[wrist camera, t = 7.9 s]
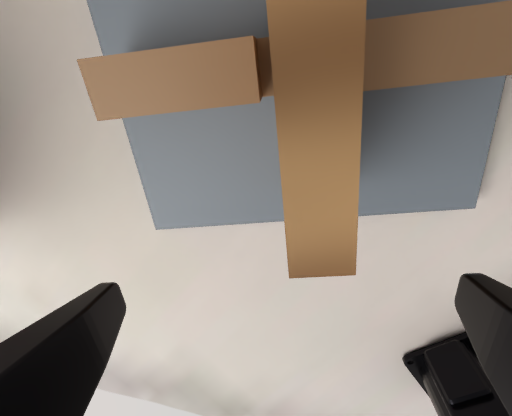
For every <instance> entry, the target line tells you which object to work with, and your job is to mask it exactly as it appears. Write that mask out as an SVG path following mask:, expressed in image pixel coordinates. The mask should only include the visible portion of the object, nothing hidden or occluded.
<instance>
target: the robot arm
mask: <svg viewBox="0 0 512 416" xmlns="http://www.w3.org/2000/svg"><path fill="white" fill-rule="evenodd" d="M455 307H456V310H457V312H458V314H459V317H460V319H461V321H462V323H463V326H464V328H465V330H466V332H467V333H464V334H461V335H458V336H456V337H453V338H450V339H448V340H445V341H442V342H439V343H437V344H434V345H431V346H429V347H426V348H423V349H420V350H418V351H415V352H412V353H410V354H407V355H405V356H404V357H403V358H402V359H403V362H404V364H405V366H406V367H407V368H408V370H409V371H410V372H411V374H412V375H413V376H414V377H415V379H416V380H417V381H418V383H419V384H420V385H421V387H422V388H423V389H424V391H425V392H426V393H427V394H428V396H429V397H430V399H431V401H432V403H433V406H434V408H435V410H436V412H437V414H438V416H512V288H510V287H508V286H506V285H504V284H502V283H500V282H498V281H496V280H494V279H492V278H490V277H488V276H486V275H484V274H481V273H469V274H463V275H462V276H461V277H460V280H459V284H458V288H457V292H456V296H455ZM125 313H126V304H125V301H124V298H123V295H122V293H121V290H120V287H119V285H118V284H117V283H114V282H109V283H100V284H98V285H97V286H95V287H93V288H92V289H90V290H88V291H87V292H85V293H83V294H82V295H80V296H78V297H77V298H75V299H73V300H72V301H70V302H68V303H67V304H65V305H63V306H62V307H60V308H58V309H57V310H55V311H53V312H52V313H50V314H48V315H46V316H45V317H43V318H41V319H40V320H38V321H36V322H35V323H33V324H31V325H30V326H28V327H26V328H25V329H23V330H21V331H20V332H18V333H16V334H15V335H13V336H11V337H10V338H8V339H6V340H5V341H3V342H1V343H0V416H83V415H84V413H85V411H86V409H87V407H88V405H89V402H90V401H91V398H92V396H93V394H94V392H95V390H96V388H97V386H98V383H99V381H100V379H101V377H102V375H103V373H104V370H105V368H106V366H107V363H108V361H109V358H110V355H111V352H112V350H113V347H114V344H115V341H116V338H117V336H118V333H119V330H120V327H121V324H122V322H123V319H124V316H125Z"/></svg>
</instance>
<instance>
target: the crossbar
mask: <svg viewBox="0 0 512 416" xmlns="http://www.w3.org/2000/svg"><path fill="white" fill-rule="evenodd" d="M366 4H367V0H266V6H267V18H268V30H269V42H270V54H271V66H272V78H273V90H274V102H275V114H276V126H277V138H278V150H279V162H280V174H281V186H282V198H283V210H284V222H285V234H286V246H287V258H288V270H289V278H304V277H326V276H347V275H356V253H357V228H358V203H359V179H360V154H361V129H362V104H363V79H364V54H365V29H366Z"/></svg>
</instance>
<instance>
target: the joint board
mask: <svg viewBox="0 0 512 416" xmlns="http://www.w3.org/2000/svg"><path fill="white" fill-rule="evenodd" d="M87 3H88V7H89V10H90V13H91V17H92V20H93V23H94V27H95V30H96V33H97V36H98V40H99V43H100V46H101V50H102V53H103V56H99V57H92V58H85V59H77V62H78V65H79V68H80V70H81V73H82V76H83V79H84V82H85V85H86V88H87V91H88V94H89V97H90V100H91V103H92V106H93V109H94V112H95V115H96V118H97V121H101V120H110V119H119V118H122V119H123V122H124V126H125V129H126V132H127V136H128V139H129V142H130V146H131V149H132V152H133V155H134V159H135V162H136V165H137V169H138V172H139V175H140V179H141V182H142V185H143V189H144V192H145V195H146V198H147V202H148V205H149V208H150V212H151V215H152V218H153V222H154V225H155V228H156V230H159V229H174V228H188V227H203V226H218V225H233V224H248V223H263V222H278V221H284V210H283V198H282V186H281V174H280V162H279V150H278V138H277V126H276V114H275V102H274V90H273V78H272V66H271V54H270V42H269V30H268V18H267V6H266V0H87ZM506 75H512V0H367V4H366V29H365V54H364V79H363V104H362V129H361V154H360V179H359V203H358V216H367V215H382V214H397V213H412V212H427V211H442V210H457V209H472V208H475V207H476V203H477V198H478V194H479V190H480V186H481V181H482V177H483V173H484V168H485V164H486V160H487V156H488V151H489V147H490V143H491V138H492V134H493V130H494V126H495V121H496V117H497V113H498V108H499V104H500V100H501V96H502V91H503V87H504V83H505V78H506Z"/></svg>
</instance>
